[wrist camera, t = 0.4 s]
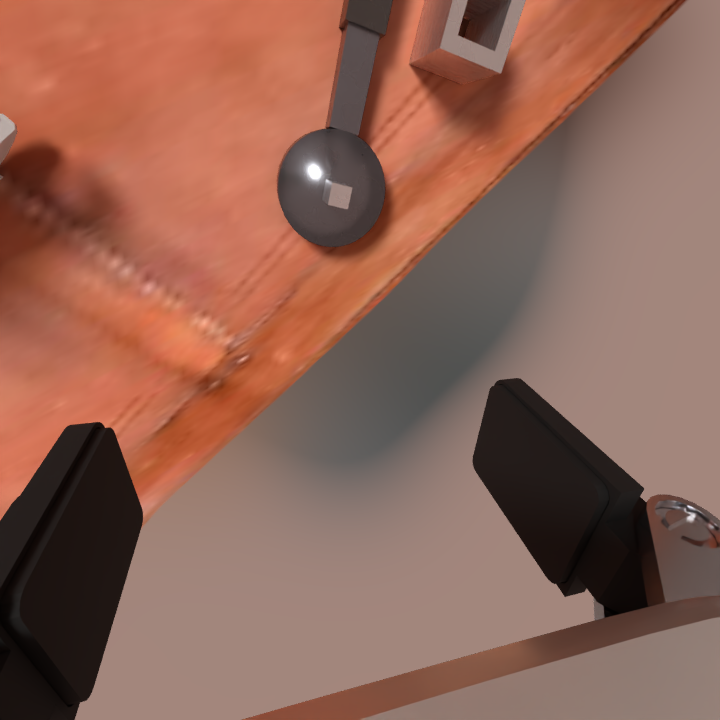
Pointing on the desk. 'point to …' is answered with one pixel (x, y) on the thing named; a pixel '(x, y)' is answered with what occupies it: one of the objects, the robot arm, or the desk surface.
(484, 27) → the socket
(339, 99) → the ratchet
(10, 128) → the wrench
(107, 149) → the desk surface
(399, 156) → the desk surface
